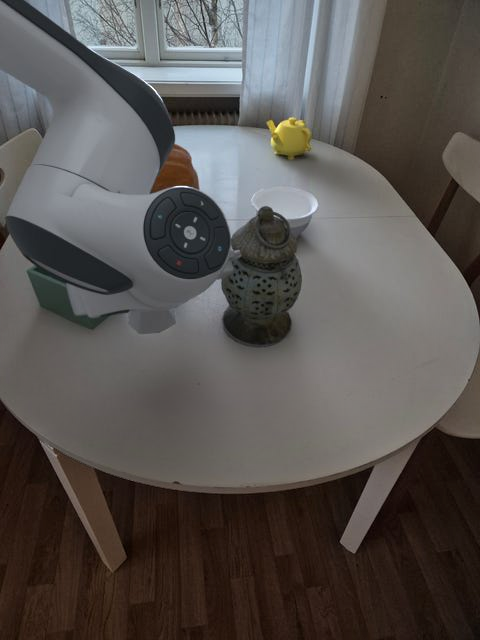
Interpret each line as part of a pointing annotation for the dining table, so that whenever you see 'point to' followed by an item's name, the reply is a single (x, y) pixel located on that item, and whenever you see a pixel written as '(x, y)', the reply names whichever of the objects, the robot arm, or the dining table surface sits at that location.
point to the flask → (152, 321)
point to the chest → (57, 297)
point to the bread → (176, 171)
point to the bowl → (288, 205)
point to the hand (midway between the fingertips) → (146, 287)
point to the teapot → (290, 137)
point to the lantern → (262, 281)
